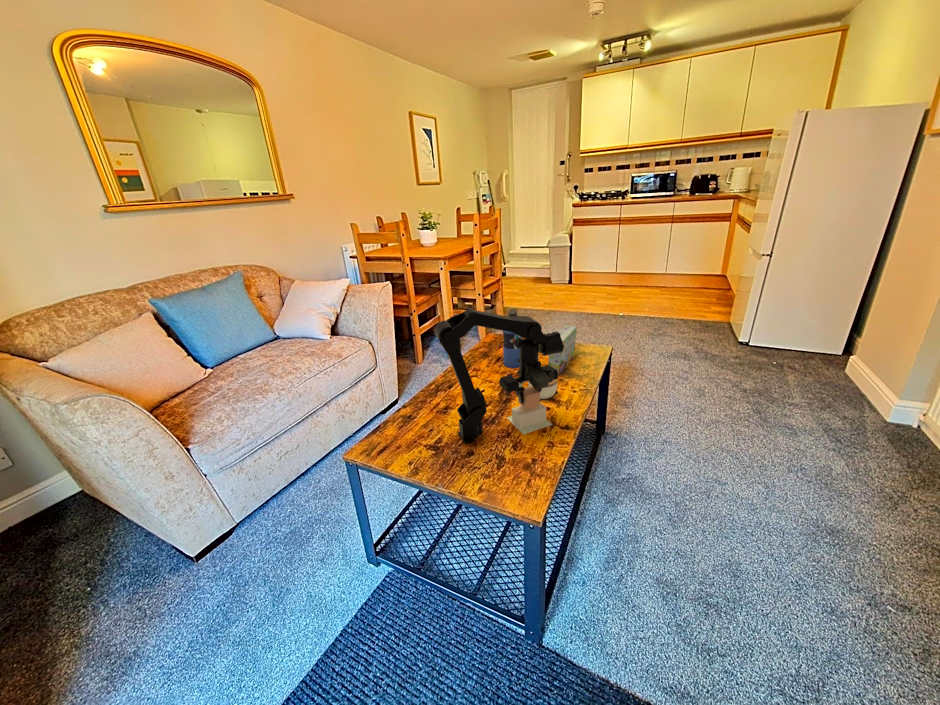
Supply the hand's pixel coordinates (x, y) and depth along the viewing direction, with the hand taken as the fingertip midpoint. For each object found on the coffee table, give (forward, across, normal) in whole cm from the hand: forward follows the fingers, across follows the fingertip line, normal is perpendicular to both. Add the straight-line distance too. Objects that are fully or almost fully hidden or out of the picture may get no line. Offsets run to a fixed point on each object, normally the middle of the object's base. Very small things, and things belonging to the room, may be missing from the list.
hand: (528, 401), depth 127 cm
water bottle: (+9, +19, +43) cm, 48 cm away
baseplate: (+8, 0, 0) cm, 8 cm away
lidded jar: (+9, +14, +13) cm, 21 cm away
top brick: (+1, 0, 0) cm, 1 cm away
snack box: (+9, +36, +31) cm, 48 cm away
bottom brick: (+8, 0, 0) cm, 8 cm away
